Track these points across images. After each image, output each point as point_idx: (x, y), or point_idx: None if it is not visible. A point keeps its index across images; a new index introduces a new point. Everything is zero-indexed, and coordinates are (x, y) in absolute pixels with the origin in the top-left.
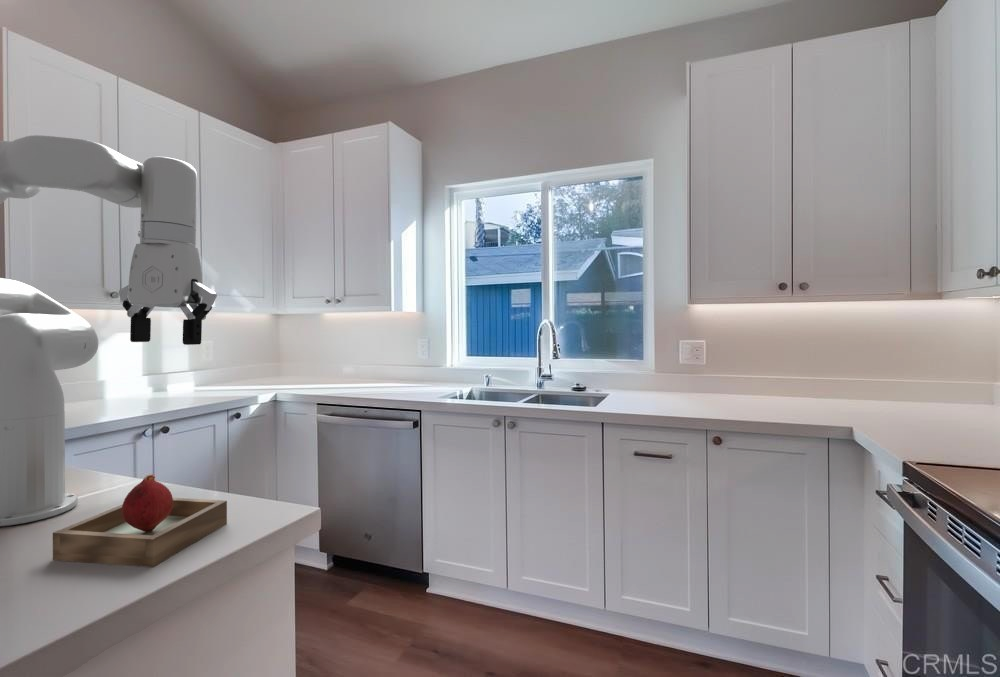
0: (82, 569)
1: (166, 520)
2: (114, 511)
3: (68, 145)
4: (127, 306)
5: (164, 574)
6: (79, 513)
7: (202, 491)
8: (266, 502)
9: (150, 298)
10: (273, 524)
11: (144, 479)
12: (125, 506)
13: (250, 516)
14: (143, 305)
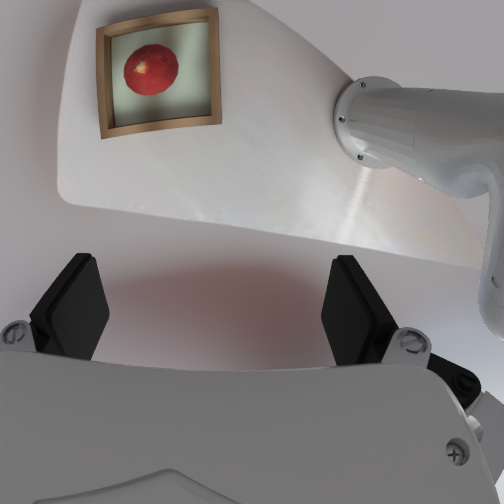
0: (169, 10)
1: (165, 104)
2: (210, 72)
3: None
4: (451, 377)
5: (88, 30)
6: (316, 125)
7: (226, 221)
8: (117, 205)
9: (197, 415)
10: (67, 150)
11: (142, 61)
12: (157, 44)
13: (103, 161)
14: (298, 369)
